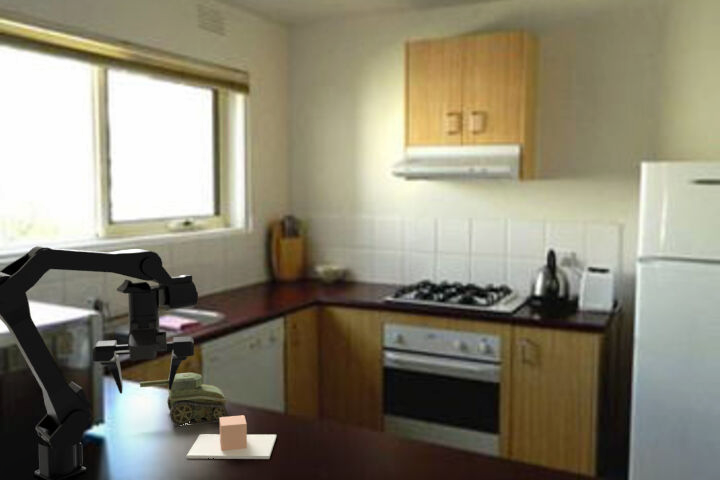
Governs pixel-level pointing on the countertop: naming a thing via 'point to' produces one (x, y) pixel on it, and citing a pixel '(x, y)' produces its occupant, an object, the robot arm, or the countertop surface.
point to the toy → (192, 399)
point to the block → (233, 432)
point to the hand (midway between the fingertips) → (145, 391)
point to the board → (211, 449)
